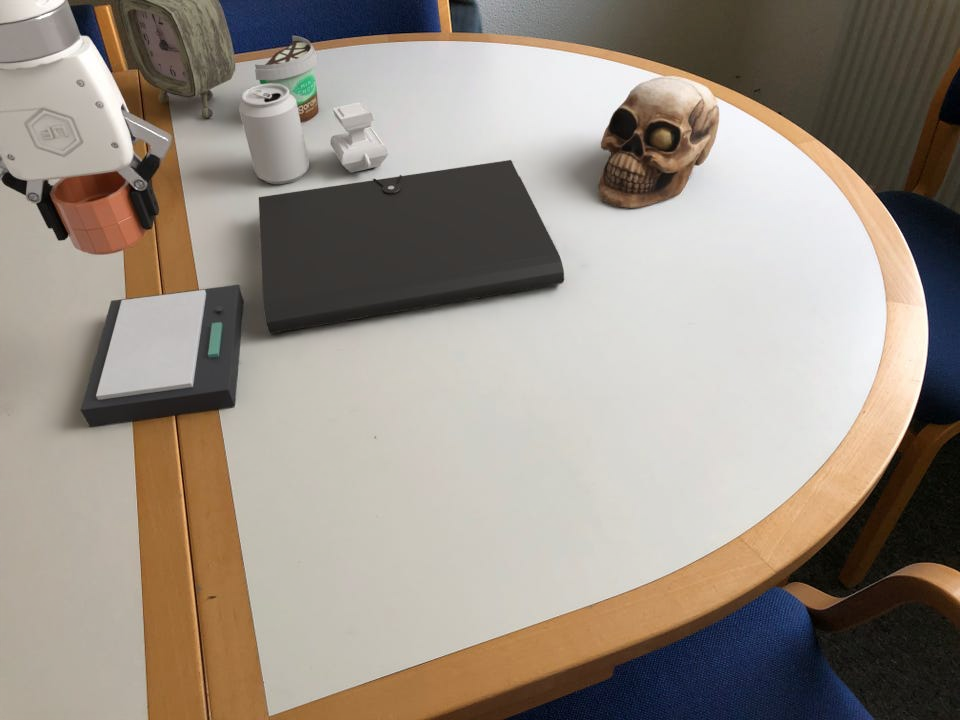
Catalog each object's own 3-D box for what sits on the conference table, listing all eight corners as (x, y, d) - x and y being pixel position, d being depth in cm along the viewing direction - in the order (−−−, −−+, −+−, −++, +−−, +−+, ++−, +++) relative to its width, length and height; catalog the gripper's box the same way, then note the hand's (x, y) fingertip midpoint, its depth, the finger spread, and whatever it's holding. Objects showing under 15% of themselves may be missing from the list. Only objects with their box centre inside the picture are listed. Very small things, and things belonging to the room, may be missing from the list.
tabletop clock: (149, 104, 130) (93, -63, 113) (192, 84, 135) (145, -79, 118) (208, 125, 124) (158, -48, 107) (251, 103, 129) (210, -66, 112)
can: (293, 190, 108) (274, 107, 100) (246, 182, 110) (224, 100, 102) (319, 164, 113) (304, 83, 105) (274, 157, 116) (255, 76, 107)
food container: (303, 134, 120) (290, 70, 113) (268, 129, 122) (253, 65, 115) (339, 99, 129) (329, 37, 122) (305, 95, 130) (293, 34, 123)
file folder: (510, 156, 105) (564, 263, 88) (510, 183, 108) (563, 292, 91) (257, 193, 100) (263, 314, 83) (264, 221, 103) (271, 342, 86)
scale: (89, 427, 77) (77, 405, 75) (118, 317, 90) (108, 296, 88) (235, 407, 79) (227, 385, 77) (244, 301, 91) (237, 280, 89)
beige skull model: (599, 207, 102) (610, 104, 94) (593, 154, 116) (602, 61, 108) (722, 212, 101) (744, 109, 93) (701, 158, 115) (719, 64, 107)
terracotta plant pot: (67, 262, 71) (41, 209, 68) (82, 221, 76) (59, 170, 73) (144, 252, 72) (123, 199, 68) (154, 212, 77) (135, 161, 73)
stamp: (393, 173, 111) (386, 117, 105) (347, 184, 109) (338, 128, 103) (374, 145, 117) (366, 90, 111) (330, 155, 115) (320, 100, 109)
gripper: (-112, 63, 58) (-1, 263, 70) (132, 38, 59) (200, 237, 71) (-77, 26, 63) (21, 217, 75) (146, 3, 65) (207, 194, 77)
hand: (108, 225), depth 73 cm, fingers closed on terracotta plant pot, 6 cm apart
